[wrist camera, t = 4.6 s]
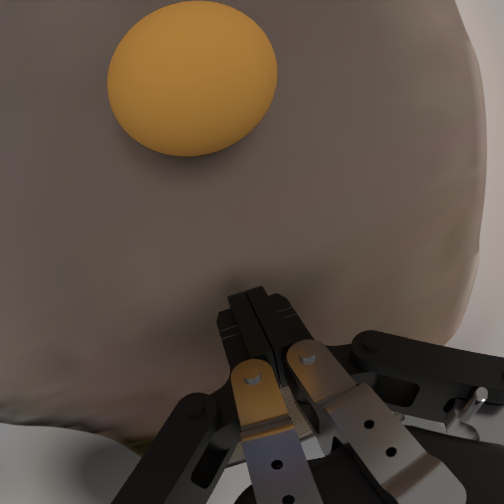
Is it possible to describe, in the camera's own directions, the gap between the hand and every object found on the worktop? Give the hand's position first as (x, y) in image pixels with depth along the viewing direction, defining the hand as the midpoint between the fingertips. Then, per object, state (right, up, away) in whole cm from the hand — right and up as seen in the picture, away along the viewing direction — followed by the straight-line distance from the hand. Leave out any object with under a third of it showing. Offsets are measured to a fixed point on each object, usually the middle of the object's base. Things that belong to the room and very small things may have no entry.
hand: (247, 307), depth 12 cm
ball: (-2, +8, -4) cm, 9 cm away
